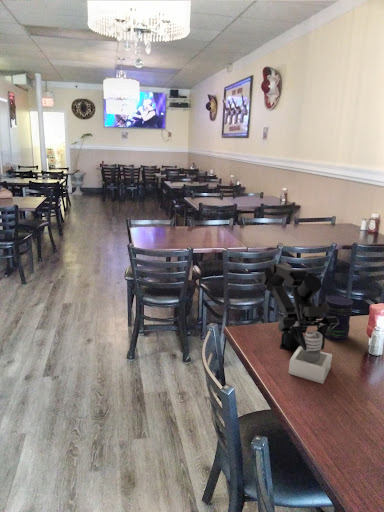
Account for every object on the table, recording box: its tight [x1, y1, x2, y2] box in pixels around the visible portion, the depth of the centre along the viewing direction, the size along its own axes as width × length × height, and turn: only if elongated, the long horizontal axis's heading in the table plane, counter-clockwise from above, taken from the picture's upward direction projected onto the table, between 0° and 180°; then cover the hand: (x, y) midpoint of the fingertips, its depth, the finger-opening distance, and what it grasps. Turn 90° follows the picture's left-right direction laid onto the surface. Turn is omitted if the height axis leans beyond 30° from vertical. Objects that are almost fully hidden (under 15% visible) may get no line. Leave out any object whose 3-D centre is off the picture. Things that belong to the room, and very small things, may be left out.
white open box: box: [288, 346, 333, 384], centre depth 130 cm, size 11×11×5 cm
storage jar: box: [323, 294, 354, 343], centre depth 154 cm, size 10×10×15 cm
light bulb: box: [303, 330, 322, 364], centre depth 129 cm, size 6×6×12 cm
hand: (314, 349), depth 127 cm, fingers closed on light bulb, 5 cm apart
